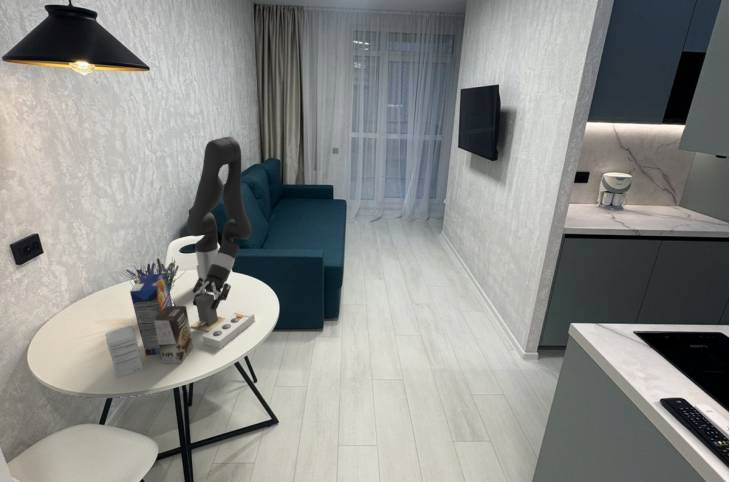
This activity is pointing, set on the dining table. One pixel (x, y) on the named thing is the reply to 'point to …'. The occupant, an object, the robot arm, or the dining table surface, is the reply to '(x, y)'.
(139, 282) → the cereal box
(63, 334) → the dining table surface
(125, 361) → the supplement box
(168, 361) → the coffee box
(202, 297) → the block
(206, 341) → the power strip
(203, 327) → the coaster
